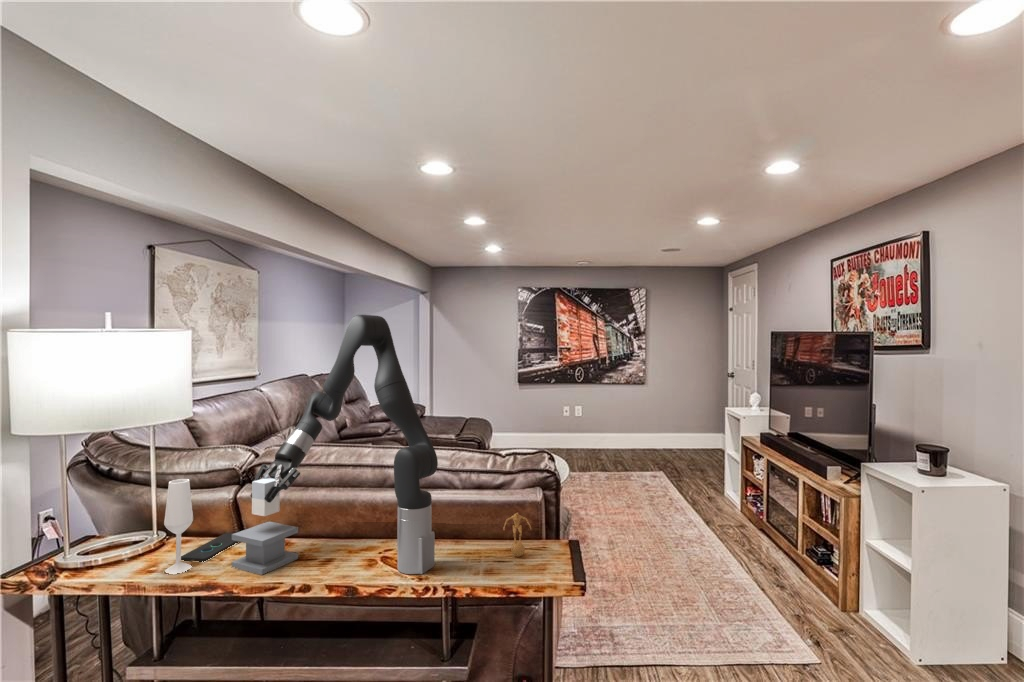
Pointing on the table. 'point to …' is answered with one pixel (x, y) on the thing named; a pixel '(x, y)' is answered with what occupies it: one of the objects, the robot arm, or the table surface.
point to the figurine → (517, 547)
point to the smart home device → (210, 548)
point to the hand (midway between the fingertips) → (260, 499)
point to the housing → (258, 495)
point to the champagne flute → (178, 518)
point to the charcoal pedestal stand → (265, 547)
